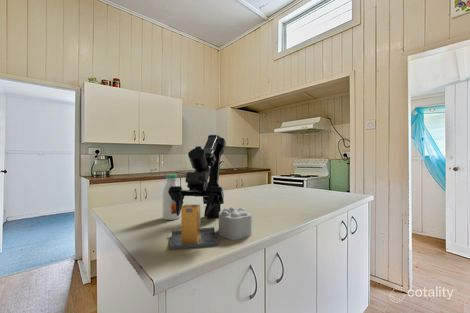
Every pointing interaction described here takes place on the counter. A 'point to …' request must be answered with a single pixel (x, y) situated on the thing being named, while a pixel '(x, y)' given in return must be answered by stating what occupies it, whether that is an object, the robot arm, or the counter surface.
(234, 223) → the lumpy-topped squat cylinder
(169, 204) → the milk bottle
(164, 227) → the counter surface
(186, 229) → the block
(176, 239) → the dark grey tray
